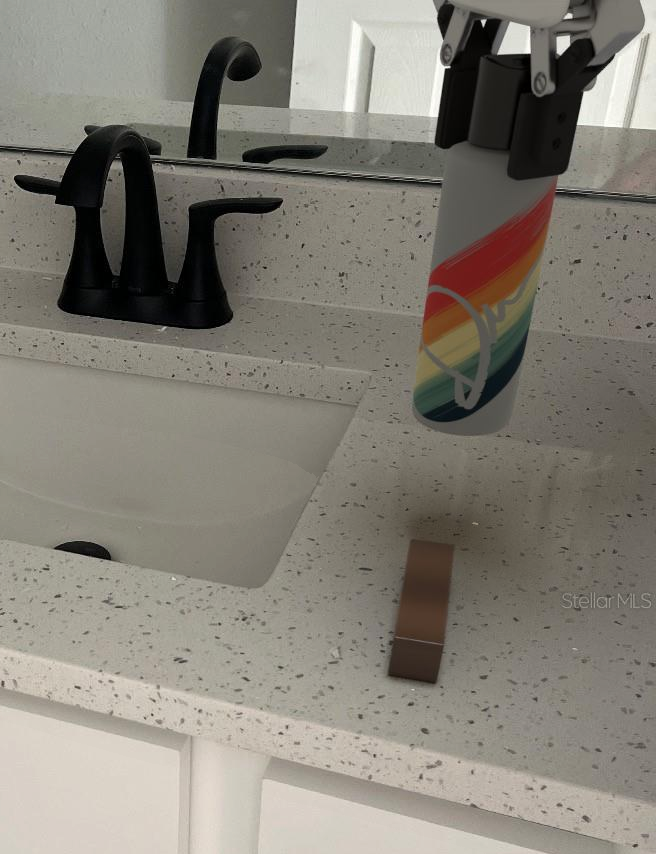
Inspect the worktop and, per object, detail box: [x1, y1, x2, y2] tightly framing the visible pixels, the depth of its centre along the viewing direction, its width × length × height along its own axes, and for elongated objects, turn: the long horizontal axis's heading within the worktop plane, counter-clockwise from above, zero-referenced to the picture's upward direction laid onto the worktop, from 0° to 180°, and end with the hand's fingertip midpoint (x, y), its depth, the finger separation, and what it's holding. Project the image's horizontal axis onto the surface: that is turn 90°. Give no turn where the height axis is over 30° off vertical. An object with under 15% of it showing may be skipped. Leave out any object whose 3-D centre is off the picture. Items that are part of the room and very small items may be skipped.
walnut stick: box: [387, 537, 456, 683], centre depth 66 cm, size 10×2×2 cm, turn 162°
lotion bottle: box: [411, 52, 561, 437], centre depth 65 cm, size 6×6×20 cm
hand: (498, 156), depth 62 cm, fingers closed on lotion bottle, 5 cm apart
